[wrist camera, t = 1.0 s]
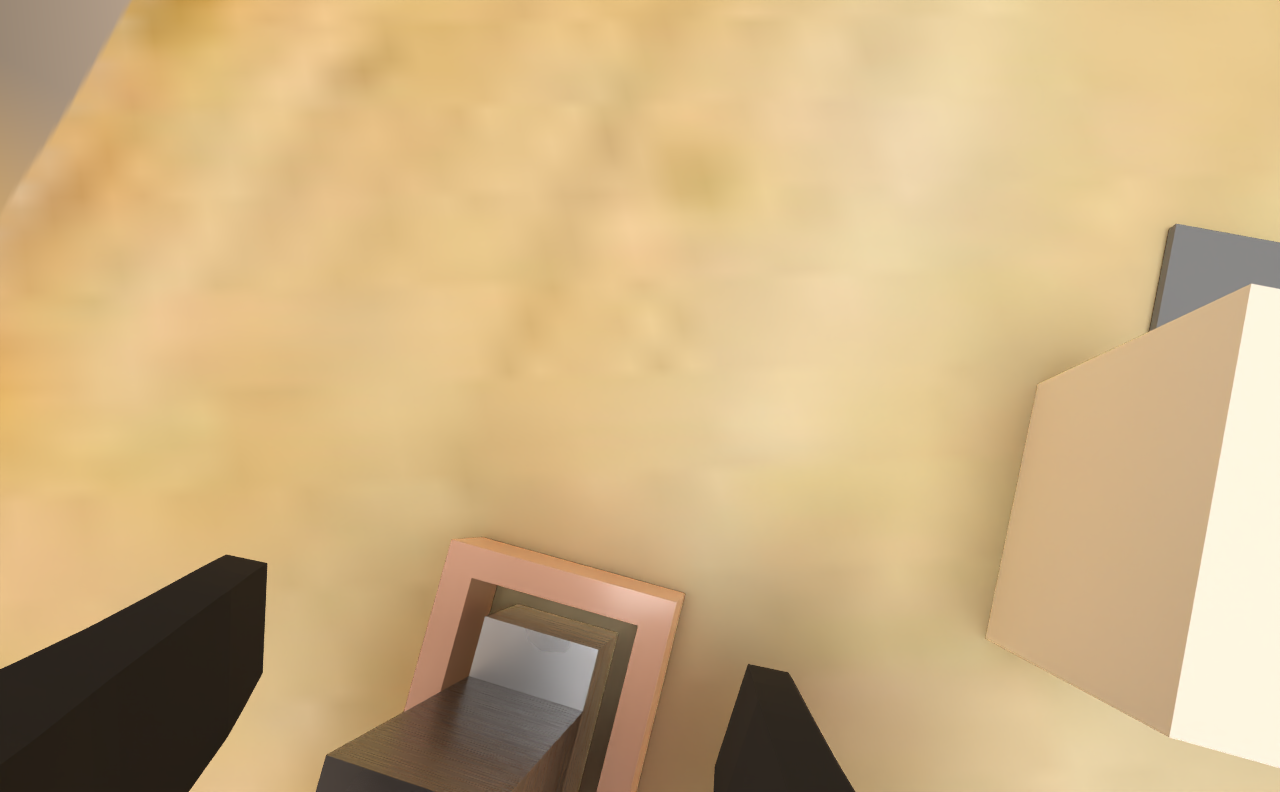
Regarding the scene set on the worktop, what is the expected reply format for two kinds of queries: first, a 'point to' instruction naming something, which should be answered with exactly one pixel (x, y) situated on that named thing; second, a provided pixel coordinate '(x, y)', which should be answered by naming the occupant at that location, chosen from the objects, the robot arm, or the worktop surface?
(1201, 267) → the mat
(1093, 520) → the glazed tile
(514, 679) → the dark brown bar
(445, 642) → the pusher holder
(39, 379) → the worktop surface
